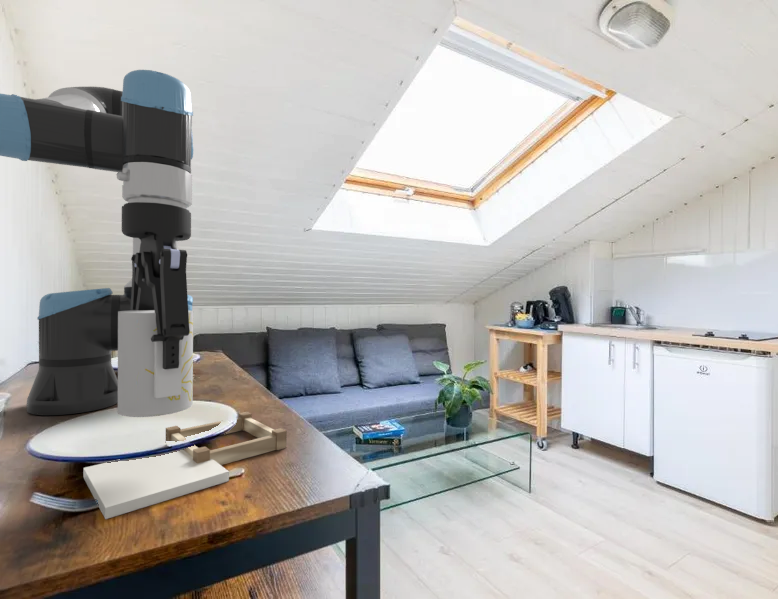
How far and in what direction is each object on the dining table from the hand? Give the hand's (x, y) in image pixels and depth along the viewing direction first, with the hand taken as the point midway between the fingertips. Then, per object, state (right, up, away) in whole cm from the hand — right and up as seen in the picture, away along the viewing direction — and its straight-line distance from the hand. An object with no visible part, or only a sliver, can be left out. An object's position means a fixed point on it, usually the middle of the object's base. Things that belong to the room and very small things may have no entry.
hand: (156, 388), depth 52 cm
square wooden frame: (+4, -11, +12) cm, 17 cm away
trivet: (0, -11, 0) cm, 11 cm away
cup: (0, -2, 0) cm, 2 cm away
